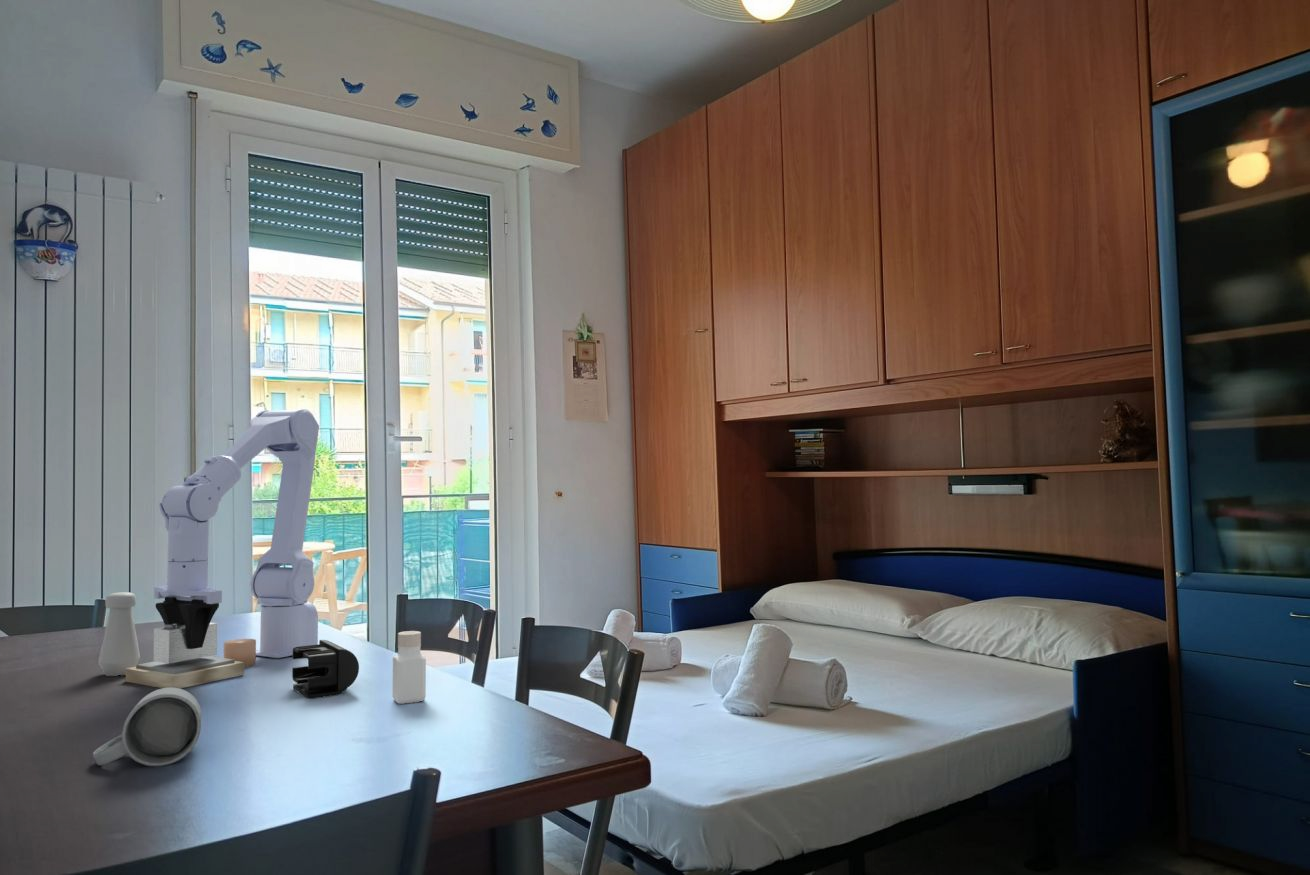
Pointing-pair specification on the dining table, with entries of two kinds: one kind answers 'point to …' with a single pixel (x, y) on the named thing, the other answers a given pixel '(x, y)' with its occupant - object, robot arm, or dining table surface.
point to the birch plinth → (184, 672)
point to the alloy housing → (181, 644)
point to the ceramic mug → (156, 730)
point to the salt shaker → (119, 636)
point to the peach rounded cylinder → (241, 651)
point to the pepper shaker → (409, 669)
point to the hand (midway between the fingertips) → (186, 646)
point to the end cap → (324, 670)
